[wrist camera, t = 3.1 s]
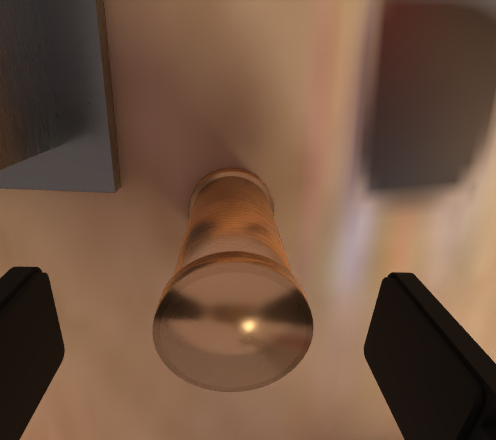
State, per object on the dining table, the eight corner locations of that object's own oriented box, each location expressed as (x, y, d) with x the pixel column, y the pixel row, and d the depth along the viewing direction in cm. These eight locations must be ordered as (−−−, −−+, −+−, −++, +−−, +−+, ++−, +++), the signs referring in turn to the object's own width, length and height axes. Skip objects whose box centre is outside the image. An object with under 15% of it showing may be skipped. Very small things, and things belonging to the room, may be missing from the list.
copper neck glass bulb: (276, 170, 18) (324, 268, 9) (268, 245, 20) (302, 391, 11) (190, 166, 18) (148, 263, 9) (190, 243, 19) (156, 391, 10)
